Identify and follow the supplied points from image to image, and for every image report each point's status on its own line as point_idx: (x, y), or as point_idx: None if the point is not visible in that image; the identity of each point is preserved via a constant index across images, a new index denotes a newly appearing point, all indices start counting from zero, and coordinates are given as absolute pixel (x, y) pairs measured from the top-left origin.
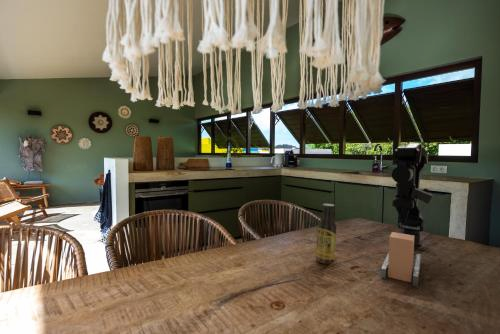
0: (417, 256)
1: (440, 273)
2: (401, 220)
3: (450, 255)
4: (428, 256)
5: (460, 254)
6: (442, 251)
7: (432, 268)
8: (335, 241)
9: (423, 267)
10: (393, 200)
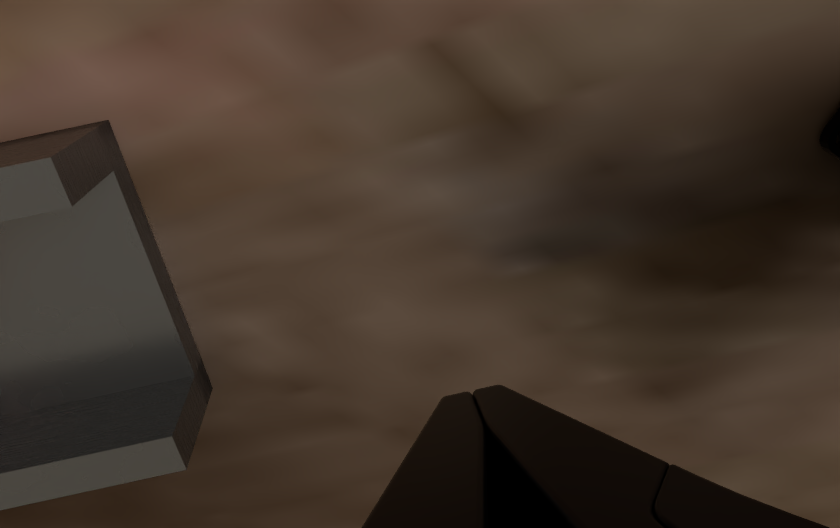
0: (82, 467)
1: (190, 524)
2: (422, 441)
3: (743, 473)
4: (577, 364)
5: (824, 513)
6: (829, 407)
7: (255, 463)
8: None
9: (211, 412)
10: None
